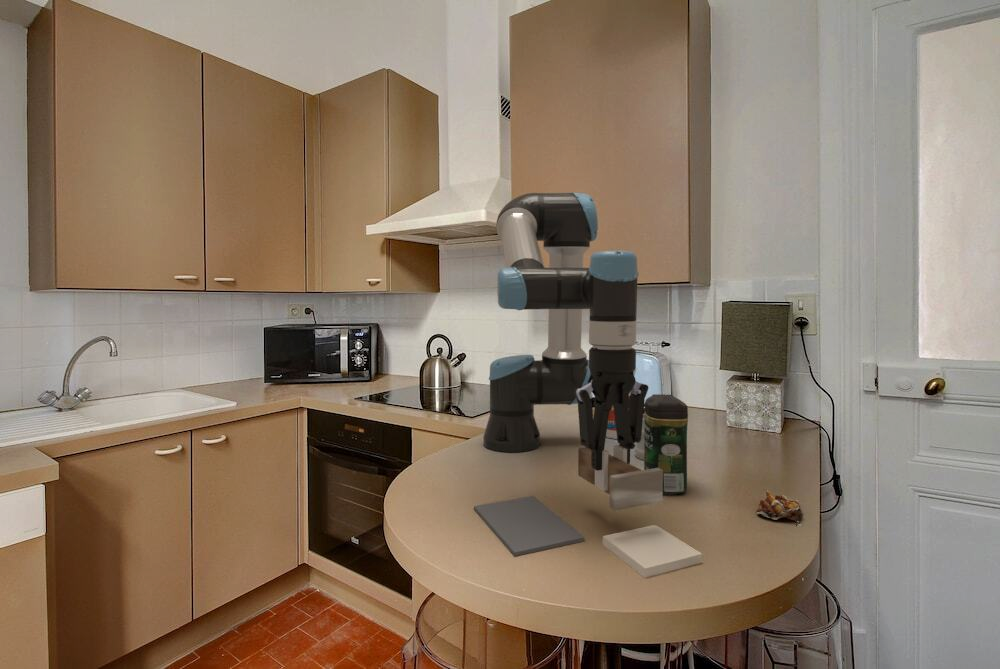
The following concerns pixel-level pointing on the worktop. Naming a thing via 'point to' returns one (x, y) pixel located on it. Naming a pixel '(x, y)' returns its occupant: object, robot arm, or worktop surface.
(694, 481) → the worktop surface
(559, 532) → the mat
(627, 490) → the scraper
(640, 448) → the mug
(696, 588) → the worktop surface
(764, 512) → the pastry
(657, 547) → the tile
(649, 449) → the coffee jar
